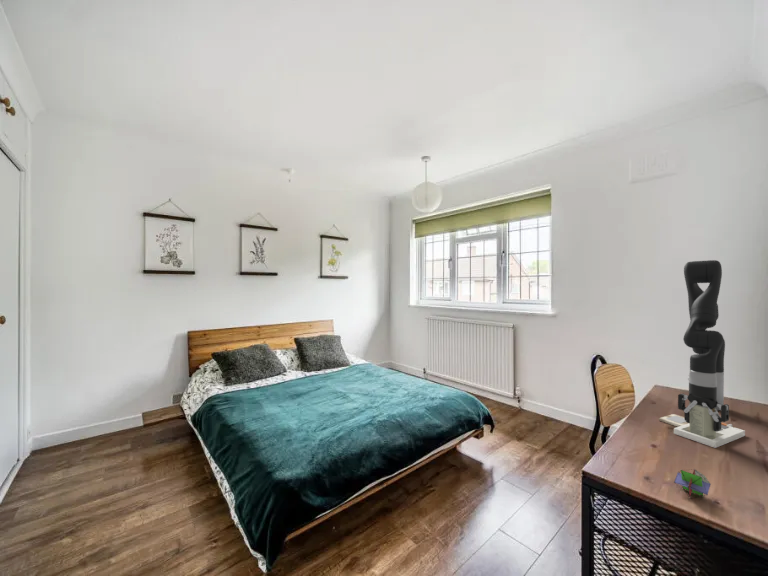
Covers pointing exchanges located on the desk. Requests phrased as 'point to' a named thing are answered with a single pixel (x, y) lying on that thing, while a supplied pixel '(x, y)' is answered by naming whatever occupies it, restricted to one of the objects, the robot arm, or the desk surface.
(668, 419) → the cream flat rectangular plate
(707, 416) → the skincare box
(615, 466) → the desk surface
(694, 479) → the geometric puzzle
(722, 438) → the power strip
